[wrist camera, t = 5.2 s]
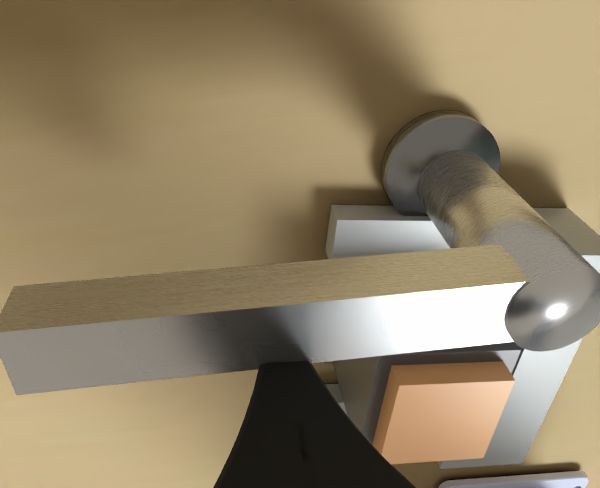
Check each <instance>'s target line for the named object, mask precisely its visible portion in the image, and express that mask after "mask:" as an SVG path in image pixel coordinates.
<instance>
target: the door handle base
mask: <svg viewBox="0 0 600 488" xmlns="http://www.w3.org/2000/svg"><path fill="white" fill-rule="evenodd" d="M453 150H467V151H471V152H473V153H475V154H477V155H478V156H479V157H481V158H482V159H483V160H484V161H485V162H486V163H487V164H488V165H489V166H490V167H491V168H492V169H493V170H494V171H495V172H496V173H497V174H498V173H499V169H500V152H499V148H498V145H497V142H496V140H495V139H494V137H493V135H492V134H491V133H490V132H489V131H488V130H487V129H486V128H485V127H484V126H483V125H481V124H480V123H479V122H478V121H477V120H476V119H474V118H473V117H471V116H470V115H467V114H465V113H462V112H459V111H453V110H440V111H434V112H430V113H427V114H424V115H422V116H420V117H418V118H416V119H414V120H412V121H411V122H410V123H408V124H407V125H406V126H404V127H403V128H402V129H401V130H400V131H399V132H398V133H397V134H396V136H395V137H394V138H393V140H392V141H391V142H390V144H389V146H388V148H387V150H386V152H385V155H384V158H383V162H382V169H381V177H382V183H383V186H384V189H385V191H386V193H387V195H388V196H389V198H390V200H391V202H392V203H393V205H394V206H395V208H396V209H397V210H398V211H399V212H400V213H401V214H402V215H403V216H428V215H427V213H426V212H425V210H424V209H423V207H422V206H421V204H420V203H419V200H418V197H417V183H418V180H419V177H420V175H421V173H422V171H423V170H424V168H425V167H426V166H427V165H428V164H429V163H430V162H431V161H432V160H433V159H435V158H436V157H438V156H439V155H441V154H443V153H446V152H449V151H453Z"/></svg>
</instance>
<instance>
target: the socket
mask: <svg viewBox="0 0 600 488" xmlns="http://www.w3.org/2000/svg"><path fill="white" fill-rule="evenodd" d="M533 209H534V210H535V211H536V212H537V213H538V214H539V215H540V216H541V217H542V218H543V219H544V220H545V221H546V222H547V223H548V224H549V225H550V226H551V227H552V228H553V229H555V230H556V231H557V232H558V233H559V234H560V235H561V236H562V237H563V238H564V239H565V240H566V241H567V242H568V243H569V244H570V245H571V246H572V247H573V248H574V249H575V250H576V251H577V252H578V253H579V254H580V255H581V256H582V257H583V258H584V259H585V260H586V261H587V262H588V263H589V264H590V265H591V266H593V267H594V268H595V269H596V270H597V271H598V272H599V273H600V236H599V235H598V234H597V233H596V232H595V231H594V230H593V229H591V228H590V227H589V226H588V225H587V224H586V223H585V222H583V221H582V220H581V219H580V218H579V217H578V216H577V215H575V214H574V213H573V212H572V211H571V210H570V209H569V208H533ZM439 249H450V247H449V246H448V244H447V243H446V241H445V240H444V238H443V237H442V235H441V234H440V232H439V231H438V229H437V228H436V226H435V225H434V224H433V222H432V221H431V219H430V218H429V216H403V215H402V214H401V213H400V212H399V211H398V210H397V209H396V208H395V206H382V205H331V211H330V219H329V226H328V233H327V241H326V248H325V251H326V254H327V257H328V259H335V258H347V257H358V256H370V255H381V254H393V253H404V252H416V251H427V250H439ZM581 340H582V338H581V339H580V340H578V341H576V342H574V343H572V344H570V345H568V346H566V347H563V348H560V349H556V350H551V351H542V352H538V351H530V350H527V349H524V348H522V347H520V346H519V348H520V349H521V352H520V354H519V357H518V359H517V361H516V364H515V366H514V369H513V371H512V376H513V377H514V379H515V383H514V385H513V388H512V390H511V392H510V395H509V397H508V400H507V402H506V404H505V407H504V409H503V412H502V414H501V417H500V419H499V421H498V424H497V426H496V429H495V431H494V433H493V436H492V438H491V441H490V443H489V445H488V448H487V450H486V453H485V455H484V458H477V459H463V460H448V461H437V463H438V465H439V468H440V469H451V468H465V467H480V466H494V465H509V464H522V463H523V461H524V459H525V457H526V455H527V453H528V451H529V449H530V447H531V445H532V443H533V440H534V438H535V436H536V434H537V432H538V430H539V428H540V426H541V424H542V422H543V420H544V417H545V415H546V413H547V411H548V409H549V407H550V405H551V403H552V401H553V399H554V397H555V395H556V392H557V390H558V388H559V386H560V384H561V382H562V380H563V378H564V376H565V374H566V372H567V369H568V367H569V365H570V363H571V361H572V359H573V357H574V355H575V353H576V351H577V349H578V346H579V344H580V342H581ZM325 385H326V387H327V388H328V390H329V391H330V393H331V394H332V396H333V397H334V398H335V400H336V401H337V403H338V404H339V405H340V407H341V408H342V409H343V411H344V412H345V413H346V409H345V405H344V401H343V398H342V394H341V390H340V386H339V384H325ZM346 415H347V413H346Z"/></svg>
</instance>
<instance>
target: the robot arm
mask: <svg viewBox="0 0 600 488" xmlns="http://www.w3.org/2000/svg"><path fill="white" fill-rule="evenodd" d="M588 481H589V478H588V477H587V475H586V473H585V472H583V471H570V472H556V473H543V474H529V475H515V476H501V477H488V478H474V479H460V480H449V481H445V482H443V483H442V484H440V486H439V487H438V488H585V487H586V485H587V483H588ZM213 488H416V487H415V486H414V485H412V484H411V483H410V482H409V481H408V480H407V479H406V478H405V477H404V476H403V475H402V474H401V473H399V472H398V471H397V470H396V469H395V468H394V467H393V466H392V465H391V464H390V463H389V462H388V461H387V460H386V459H385V458H384V457H383V456H382V455H381V454H380V453H379V452H378V451H377V450H376V449H375V447H374V446H373V445H372V444H371V443H370V442H369V441H368V440H367V439H366V437H365V436H364V435H363V434H362V433H361V432H360V431H359V429H358V428H357V427H356V426H355V425H354V423H353V422H352V421H351V420H350V418H349V417H348V416H347V415H346V413H345V412H344V411H343V409H342V408H341V407H340V405H339V404H338V403H337V401H336V400H335V398H334V397H333V396H332V394H331V393H330V391H329V390H328V388H327V387H326V385H325V384H324V382H323V381H322V379H321V378H320V376H319V375H318V373H317V372H316V370H315V369H314V367H313V365H312V364H311V363H310V362H308V361H292V362H265V363H263V364H262V365H261V366H259V370H258V375H257V379H256V383H255V387H254V391H253V394H252V397H251V400H250V403H249V406H248V409H247V412H246V415H245V418H244V421H243V423H242V426H241V429H240V431H239V434H238V436H237V439H236V441H235V443H234V446H233V448H232V450H231V453H230V455H229V457H228V459H227V461H226V463H225V465H224V467H223V470H222V472H221V474H220V476H219V478H218V480H217V482H216V484H215V485H214V487H213Z"/></svg>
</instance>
